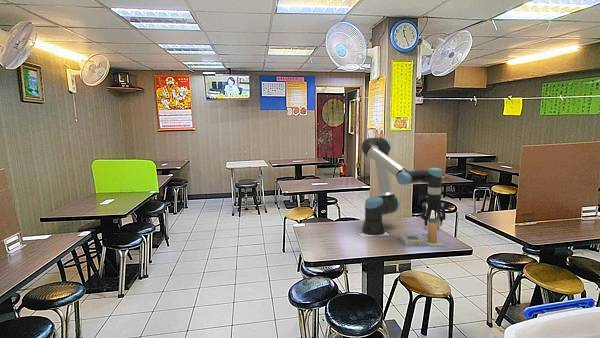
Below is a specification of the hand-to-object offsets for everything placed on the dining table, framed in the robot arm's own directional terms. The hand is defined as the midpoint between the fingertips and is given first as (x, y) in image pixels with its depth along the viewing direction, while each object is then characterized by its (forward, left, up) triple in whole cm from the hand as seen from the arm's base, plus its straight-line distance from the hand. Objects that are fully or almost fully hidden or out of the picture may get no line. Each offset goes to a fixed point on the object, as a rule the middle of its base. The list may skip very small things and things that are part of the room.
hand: (432, 230), depth 191 cm
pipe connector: (-14, +5, -8) cm, 17 cm away
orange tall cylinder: (0, 0, -7) cm, 7 cm away
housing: (-1, -12, -8) cm, 14 cm away
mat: (0, 0, -8) cm, 8 cm away
